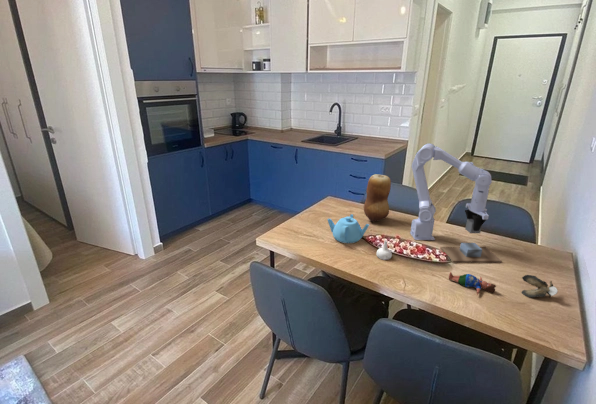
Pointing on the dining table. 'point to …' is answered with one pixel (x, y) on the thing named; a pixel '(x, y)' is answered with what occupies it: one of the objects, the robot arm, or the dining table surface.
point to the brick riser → (470, 254)
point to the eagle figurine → (541, 286)
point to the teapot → (347, 229)
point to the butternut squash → (377, 197)
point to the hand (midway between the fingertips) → (473, 228)
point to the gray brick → (471, 226)
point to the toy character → (473, 282)
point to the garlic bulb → (384, 252)
